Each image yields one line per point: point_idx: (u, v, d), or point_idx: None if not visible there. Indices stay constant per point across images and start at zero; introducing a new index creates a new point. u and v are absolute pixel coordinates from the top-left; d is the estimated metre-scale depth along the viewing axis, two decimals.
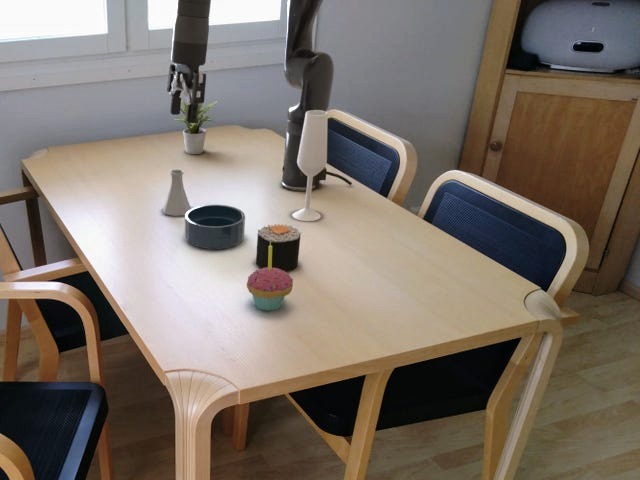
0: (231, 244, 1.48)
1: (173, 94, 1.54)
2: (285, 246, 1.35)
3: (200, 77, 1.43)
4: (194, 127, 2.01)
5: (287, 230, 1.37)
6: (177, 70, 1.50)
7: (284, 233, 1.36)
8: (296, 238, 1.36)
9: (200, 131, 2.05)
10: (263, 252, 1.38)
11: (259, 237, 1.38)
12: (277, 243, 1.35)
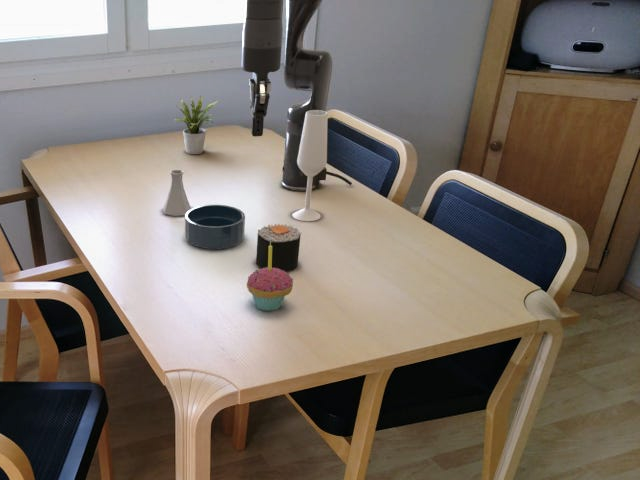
0: (231, 244, 1.48)
1: None
2: (285, 246, 1.35)
3: (261, 99, 1.30)
4: (194, 127, 2.01)
5: (287, 230, 1.37)
6: (253, 77, 1.36)
7: (284, 233, 1.36)
8: (296, 238, 1.36)
9: (200, 131, 2.05)
10: (263, 252, 1.38)
11: (259, 237, 1.38)
12: (277, 243, 1.35)
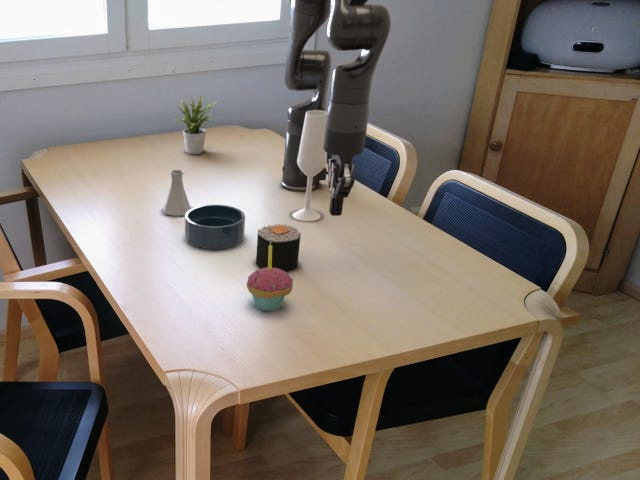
0: (231, 244, 1.48)
1: None
2: (285, 246, 1.35)
3: (346, 183, 1.26)
4: (194, 127, 2.01)
5: (287, 230, 1.37)
6: (333, 156, 1.32)
7: (284, 233, 1.36)
8: (296, 238, 1.36)
9: (200, 131, 2.05)
10: (263, 252, 1.38)
11: (259, 237, 1.38)
12: (277, 243, 1.35)
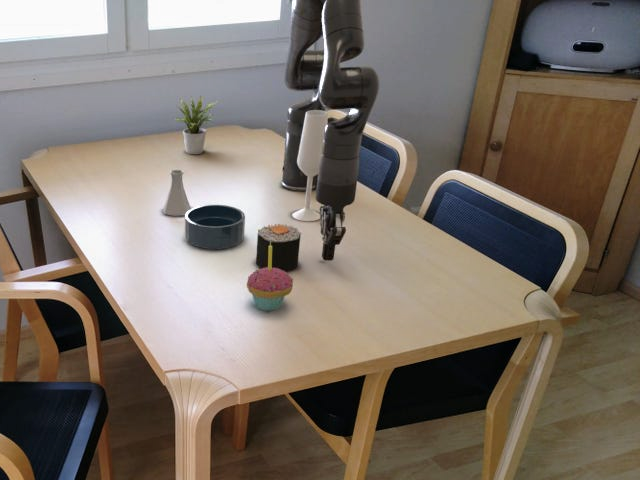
0: (231, 244, 1.48)
1: None
2: (285, 246, 1.35)
3: (338, 233, 1.31)
4: (194, 127, 2.01)
5: (287, 230, 1.37)
6: (325, 205, 1.37)
7: (284, 233, 1.36)
8: (296, 238, 1.36)
9: (200, 131, 2.05)
10: (263, 252, 1.38)
11: (259, 237, 1.38)
12: (277, 243, 1.35)
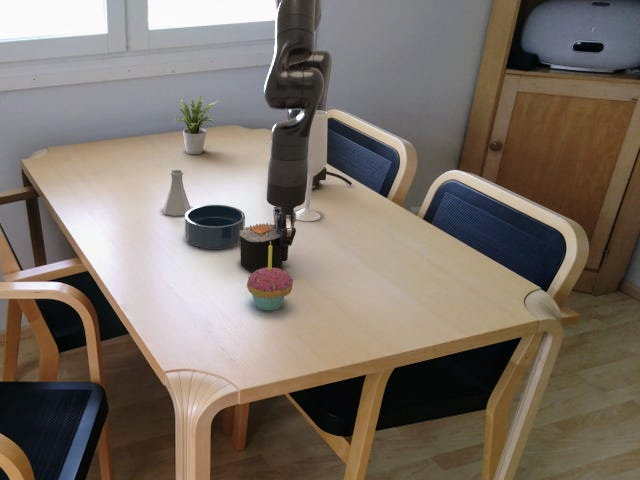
0: (231, 244, 1.48)
1: None
2: (268, 245, 1.35)
3: (288, 234, 1.31)
4: (194, 127, 2.01)
5: (269, 229, 1.36)
6: None
7: (266, 232, 1.36)
8: (278, 236, 1.35)
9: (200, 131, 2.05)
10: (246, 253, 1.37)
11: (241, 238, 1.37)
12: (259, 243, 1.34)
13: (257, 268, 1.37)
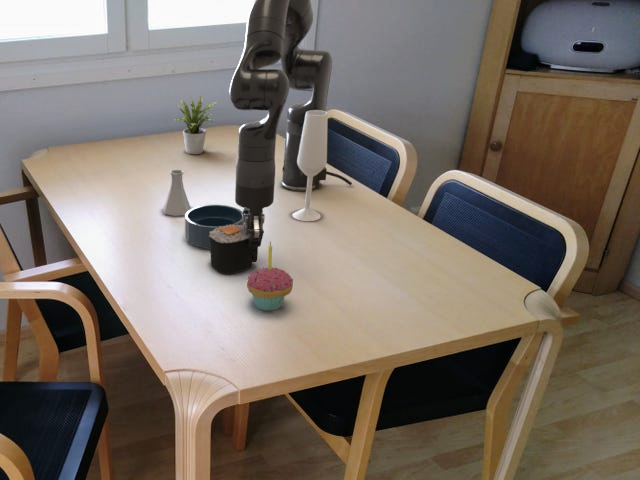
0: None
1: None
2: (237, 246, 1.35)
3: (256, 235, 1.31)
4: (194, 127, 2.01)
5: (238, 230, 1.36)
6: None
7: (235, 233, 1.36)
8: (247, 237, 1.35)
9: (200, 131, 2.05)
10: (216, 254, 1.37)
11: (211, 239, 1.38)
12: (228, 244, 1.34)
13: (226, 269, 1.37)
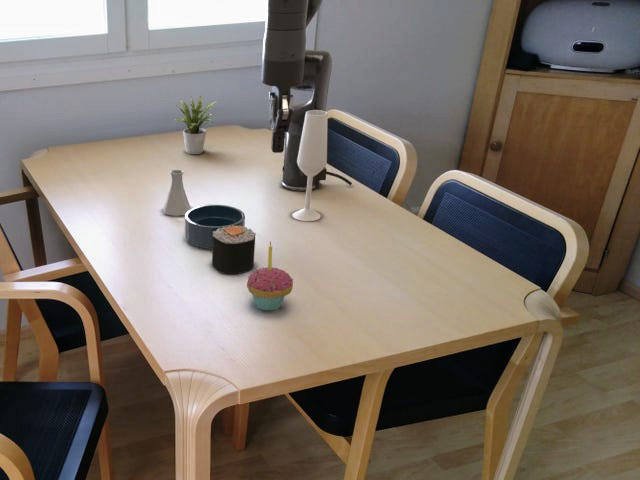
0: None
1: (273, 128, 1.29)
2: (241, 247, 1.35)
3: (284, 115, 1.22)
4: (194, 127, 2.01)
5: (242, 231, 1.37)
6: (273, 90, 1.27)
7: (239, 234, 1.36)
8: (251, 239, 1.36)
9: (200, 131, 2.05)
10: (219, 254, 1.37)
11: (214, 239, 1.37)
12: (233, 244, 1.34)
13: (229, 269, 1.38)
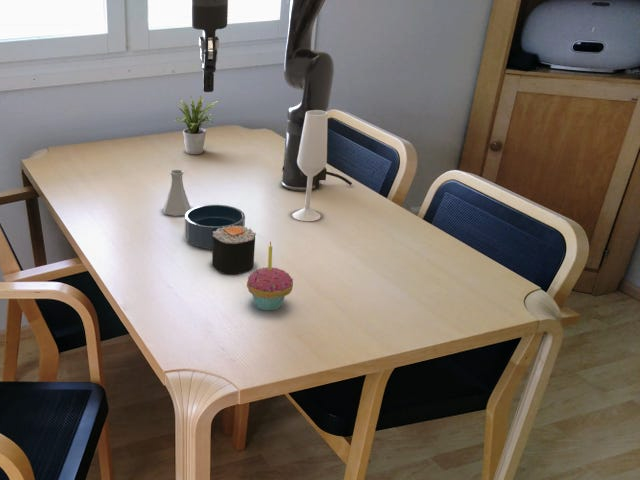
0: None
1: None
2: (241, 247, 1.35)
3: (210, 55, 1.38)
4: (194, 127, 2.01)
5: (242, 231, 1.37)
6: None
7: (239, 234, 1.36)
8: (251, 239, 1.36)
9: (200, 131, 2.05)
10: (219, 254, 1.37)
11: (214, 239, 1.37)
12: (233, 244, 1.34)
13: (229, 269, 1.38)
